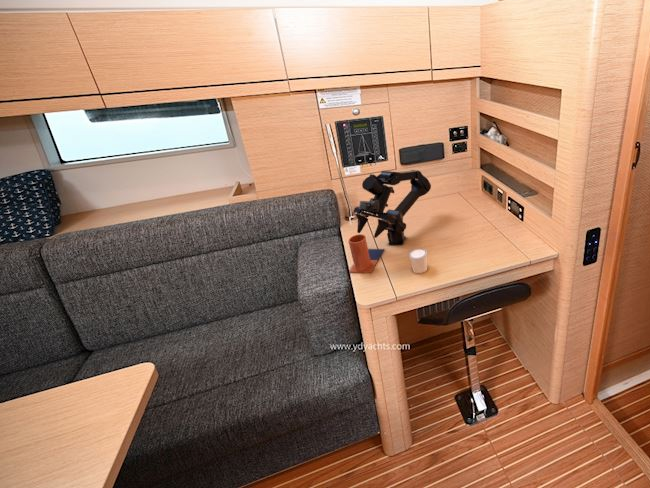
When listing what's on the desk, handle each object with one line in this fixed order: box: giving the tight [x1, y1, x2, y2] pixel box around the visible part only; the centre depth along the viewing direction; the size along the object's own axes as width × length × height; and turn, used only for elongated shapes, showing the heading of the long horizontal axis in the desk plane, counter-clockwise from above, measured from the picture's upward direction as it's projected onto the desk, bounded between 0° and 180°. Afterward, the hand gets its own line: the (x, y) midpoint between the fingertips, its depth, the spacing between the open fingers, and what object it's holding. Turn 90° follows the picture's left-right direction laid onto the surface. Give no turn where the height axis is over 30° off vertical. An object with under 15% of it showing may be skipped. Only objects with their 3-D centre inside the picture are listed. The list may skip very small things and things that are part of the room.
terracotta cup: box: [348, 233, 371, 271], centre depth 131 cm, size 6×6×13 cm
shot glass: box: [408, 248, 428, 274], centre depth 128 cm, size 7×7×7 cm
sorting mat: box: [349, 248, 385, 274], centre depth 138 cm, size 9×16×1 cm, turn 172°
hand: (366, 235), depth 133 cm, fingers open, 9 cm apart
